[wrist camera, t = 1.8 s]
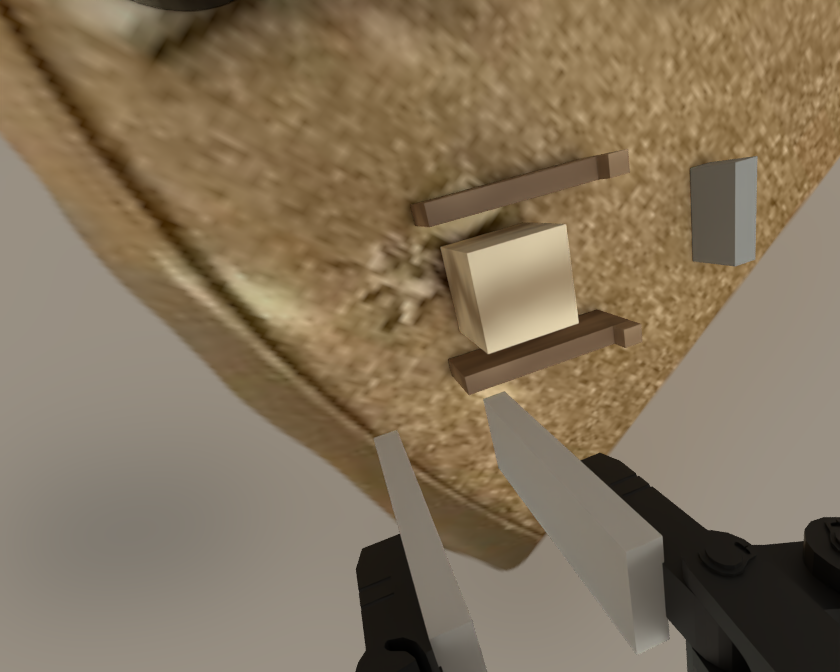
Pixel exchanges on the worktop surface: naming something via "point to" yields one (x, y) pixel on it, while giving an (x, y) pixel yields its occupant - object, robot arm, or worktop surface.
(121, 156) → the worktop surface
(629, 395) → the worktop surface
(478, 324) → the block
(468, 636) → the robot arm
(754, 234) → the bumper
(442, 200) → the chute
